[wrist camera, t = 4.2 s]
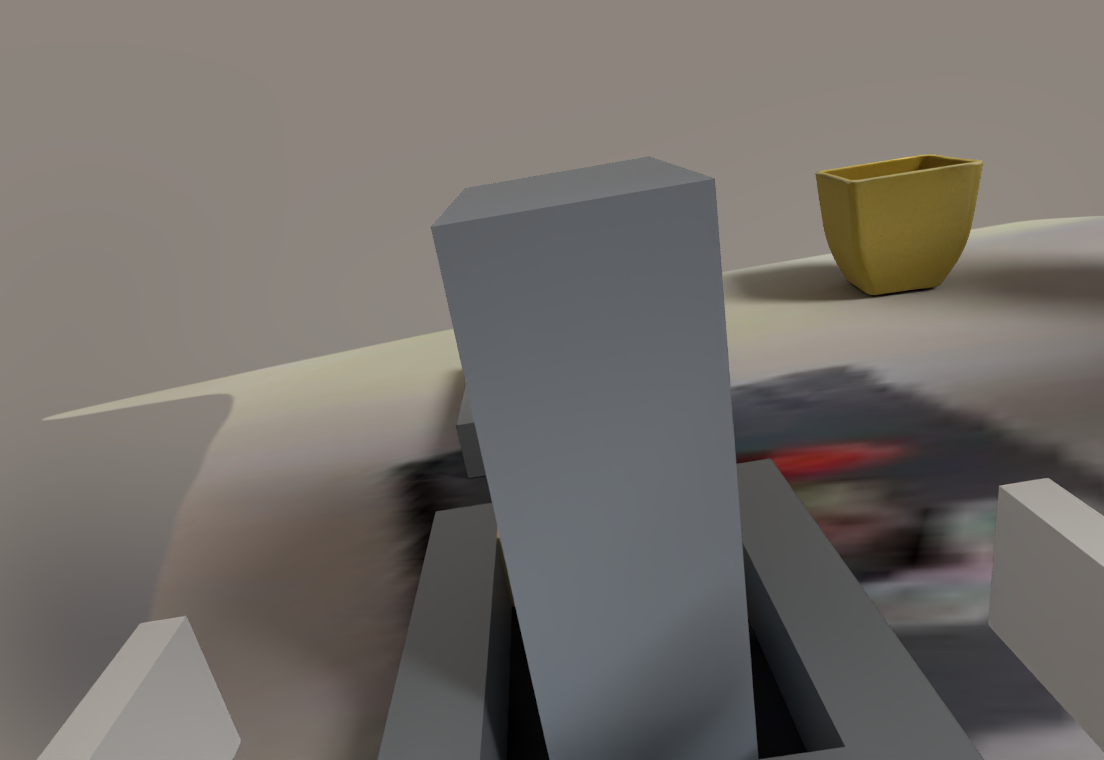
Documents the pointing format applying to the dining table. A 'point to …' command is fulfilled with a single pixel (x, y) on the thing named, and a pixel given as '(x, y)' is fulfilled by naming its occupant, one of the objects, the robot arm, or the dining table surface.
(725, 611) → the plug
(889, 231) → the flower pot
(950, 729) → the socket
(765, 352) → the dining table surface
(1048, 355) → the dining table surface
